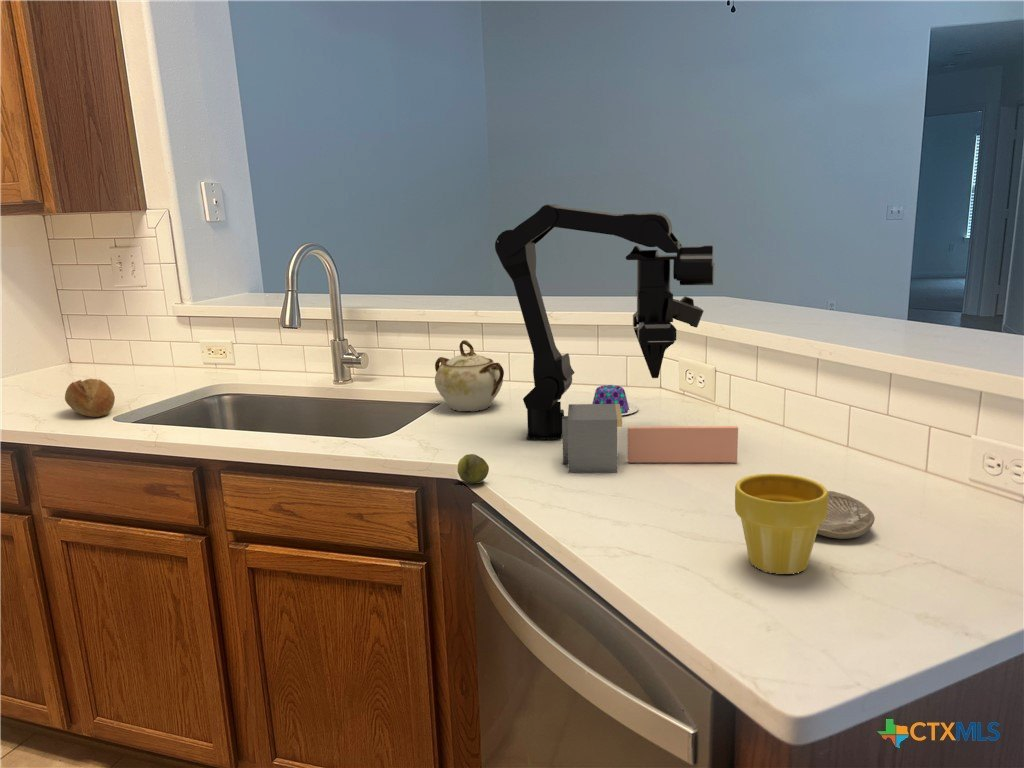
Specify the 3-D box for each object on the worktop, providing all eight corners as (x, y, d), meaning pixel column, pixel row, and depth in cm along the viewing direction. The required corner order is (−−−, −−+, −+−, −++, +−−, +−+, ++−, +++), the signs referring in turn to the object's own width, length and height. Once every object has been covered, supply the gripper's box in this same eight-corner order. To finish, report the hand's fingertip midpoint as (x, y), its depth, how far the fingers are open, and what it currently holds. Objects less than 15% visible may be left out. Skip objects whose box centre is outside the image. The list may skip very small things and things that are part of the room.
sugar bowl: (414, 408, 171) (410, 342, 167) (459, 394, 182) (456, 332, 179) (481, 421, 159) (478, 350, 155) (526, 405, 170) (524, 338, 166)
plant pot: (748, 538, 100) (751, 466, 98) (832, 556, 94) (837, 480, 92) (720, 569, 92) (722, 492, 90) (810, 591, 86) (815, 509, 84)
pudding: (619, 422, 156) (618, 397, 155) (570, 413, 163) (570, 389, 162) (649, 409, 165) (649, 385, 164) (601, 401, 172) (601, 379, 171)
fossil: (823, 556, 97) (823, 536, 96) (768, 518, 107) (768, 500, 106) (892, 537, 99) (893, 517, 98) (832, 502, 110) (832, 484, 109)
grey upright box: (562, 472, 127) (561, 420, 125) (564, 453, 137) (563, 404, 135) (622, 472, 126) (622, 419, 124) (619, 453, 136) (619, 403, 134)
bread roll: (77, 424, 168) (71, 388, 166) (61, 412, 179) (55, 378, 177) (124, 415, 174) (119, 380, 172) (106, 404, 185) (101, 371, 183)
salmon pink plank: (627, 462, 130) (628, 428, 129) (627, 460, 131) (627, 426, 130) (737, 462, 128) (738, 427, 127) (735, 460, 129) (737, 426, 128)
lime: (455, 481, 125) (453, 452, 124) (483, 476, 126) (481, 447, 125) (463, 490, 121) (462, 460, 119) (492, 485, 122) (491, 455, 121)
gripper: (708, 290, 125) (706, 383, 129) (693, 279, 144) (691, 361, 147) (639, 292, 127) (638, 384, 130) (632, 280, 145) (632, 362, 148)
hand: (652, 372), depth 139 cm, fingers open, 9 cm apart
